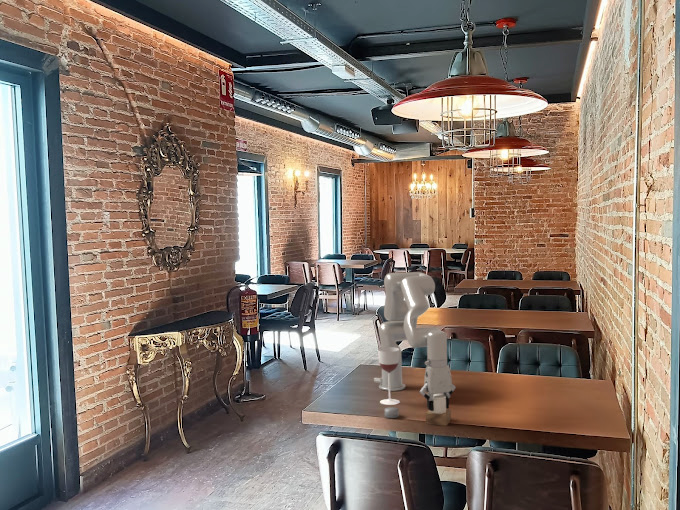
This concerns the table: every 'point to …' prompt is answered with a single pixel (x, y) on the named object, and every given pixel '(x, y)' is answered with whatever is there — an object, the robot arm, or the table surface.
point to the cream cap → (439, 403)
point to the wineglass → (388, 367)
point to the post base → (438, 418)
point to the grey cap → (391, 412)
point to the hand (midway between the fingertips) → (438, 408)
